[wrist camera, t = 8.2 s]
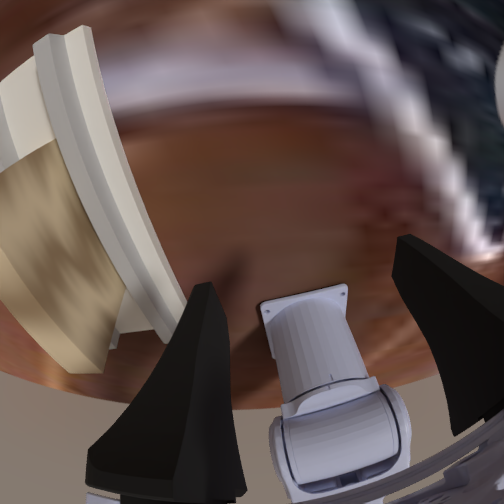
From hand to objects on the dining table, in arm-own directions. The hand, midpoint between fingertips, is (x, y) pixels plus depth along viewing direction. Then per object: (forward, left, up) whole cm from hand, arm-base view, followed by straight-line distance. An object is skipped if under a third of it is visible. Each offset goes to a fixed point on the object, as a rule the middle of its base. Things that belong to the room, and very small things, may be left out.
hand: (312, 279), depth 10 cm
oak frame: (+1, +14, -8) cm, 16 cm away
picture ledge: (+2, +14, -9) cm, 16 cm away
